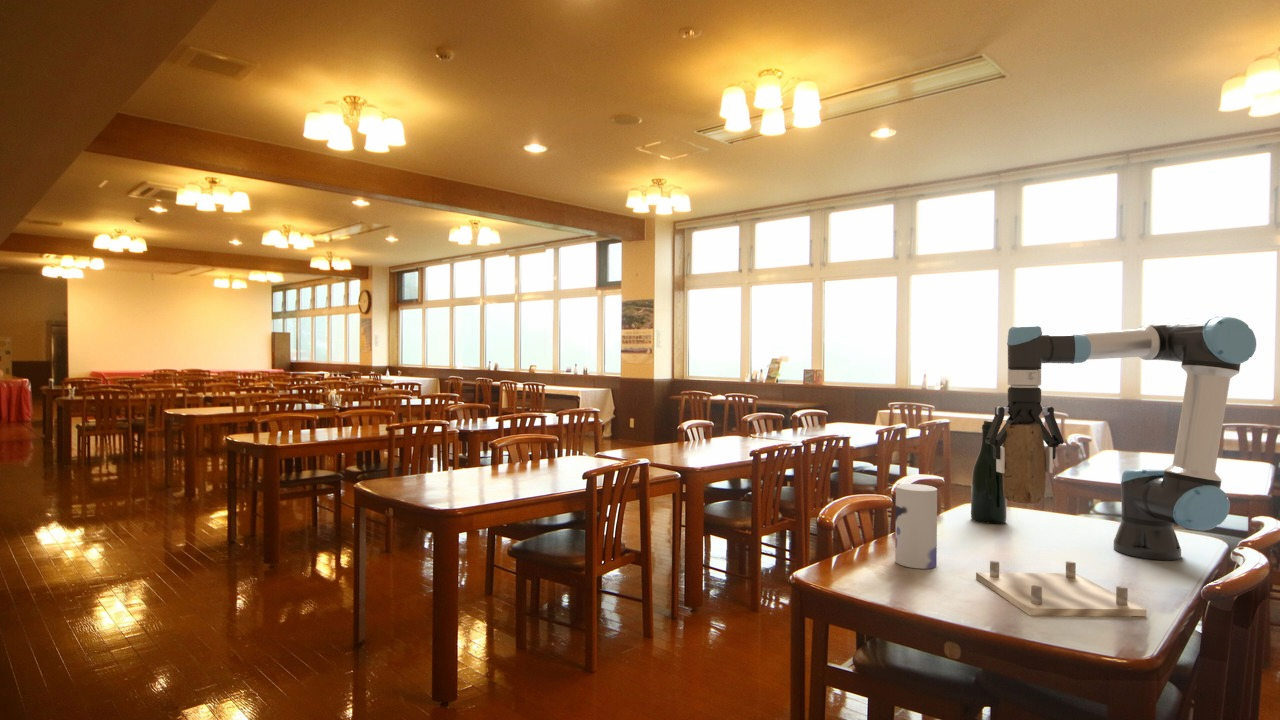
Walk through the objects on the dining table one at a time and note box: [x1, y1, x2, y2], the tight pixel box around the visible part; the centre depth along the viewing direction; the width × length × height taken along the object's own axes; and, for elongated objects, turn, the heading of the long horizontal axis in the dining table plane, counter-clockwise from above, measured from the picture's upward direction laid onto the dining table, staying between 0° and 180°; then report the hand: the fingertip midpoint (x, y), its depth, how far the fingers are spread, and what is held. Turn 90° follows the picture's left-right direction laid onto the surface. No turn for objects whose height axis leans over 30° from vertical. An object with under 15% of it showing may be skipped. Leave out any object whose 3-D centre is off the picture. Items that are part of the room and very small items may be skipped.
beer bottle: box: [970, 420, 1007, 525], centre depth 229 cm, size 10×10×33 cm
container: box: [894, 483, 938, 570], centre depth 182 cm, size 10×10×20 cm
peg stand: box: [975, 560, 1147, 617], centre depth 158 cm, size 24×24×5 cm
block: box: [1002, 422, 1046, 505], centre depth 178 cm, size 11×8×20 cm
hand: (1024, 472), depth 178 cm, fingers closed on block, 11 cm apart
